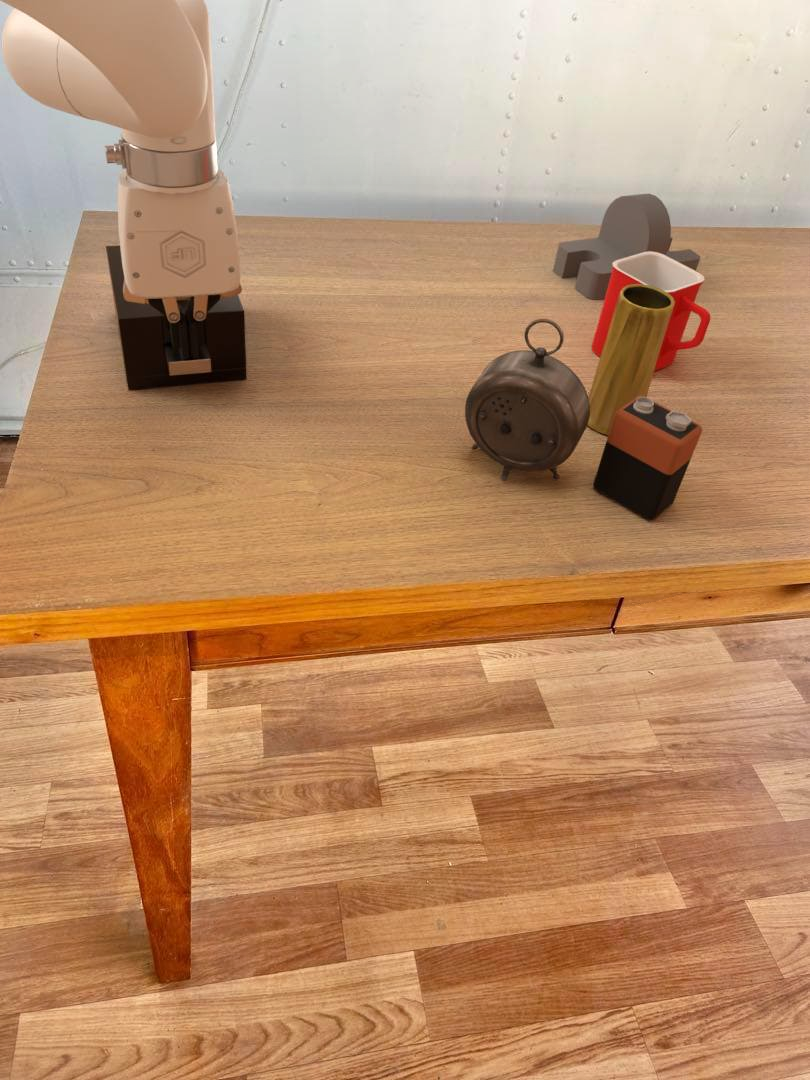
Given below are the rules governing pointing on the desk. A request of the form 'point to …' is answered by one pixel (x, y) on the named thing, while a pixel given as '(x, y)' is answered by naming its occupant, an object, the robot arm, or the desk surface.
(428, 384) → the desk surface
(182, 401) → the desk surface
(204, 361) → the lever
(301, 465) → the desk surface
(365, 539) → the desk surface
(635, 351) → the vase
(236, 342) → the toaster
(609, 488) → the battery
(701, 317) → the mug
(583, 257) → the bracket
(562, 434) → the alarm clock
